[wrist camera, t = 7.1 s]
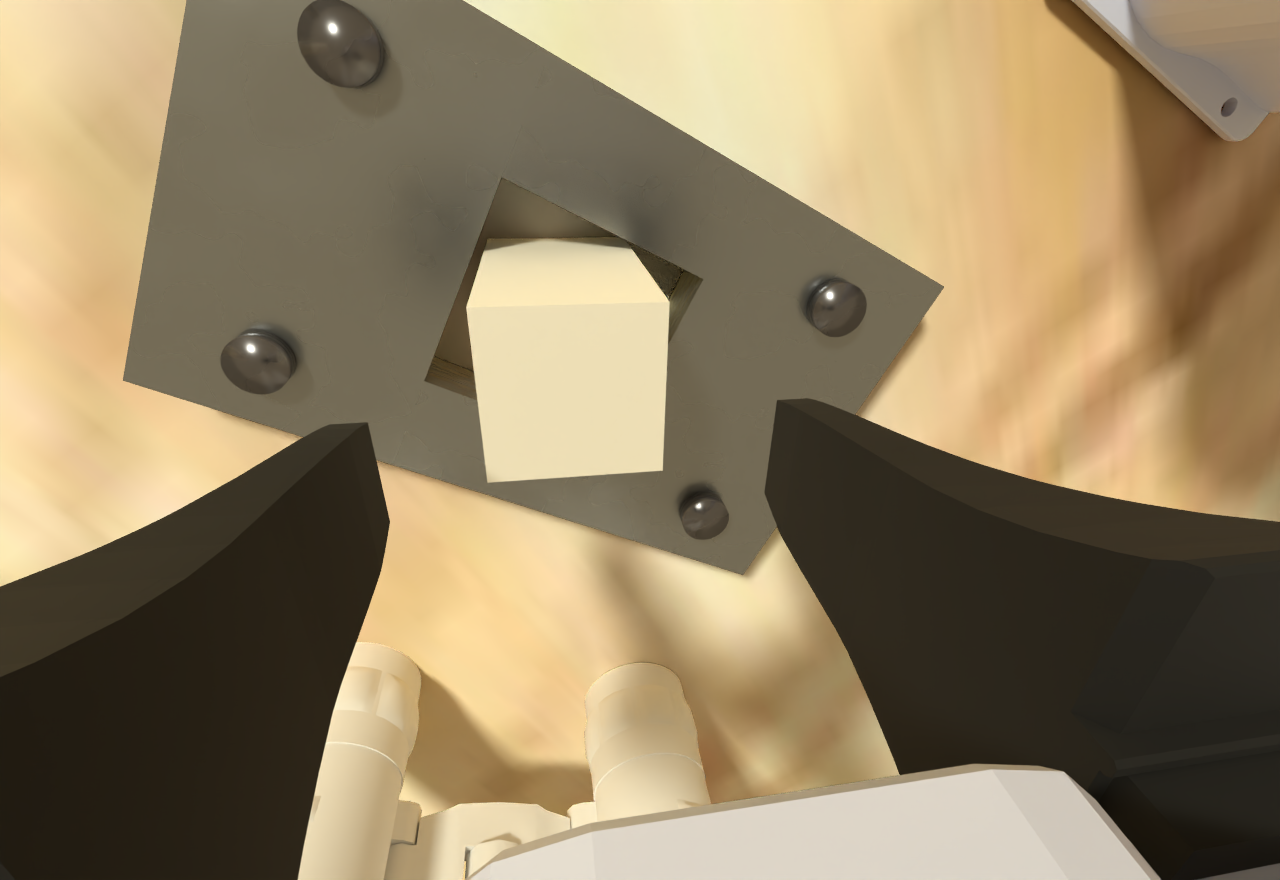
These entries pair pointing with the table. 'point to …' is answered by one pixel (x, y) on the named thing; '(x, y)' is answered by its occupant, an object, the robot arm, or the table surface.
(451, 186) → the strike plate
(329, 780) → the binoculars
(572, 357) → the cream rectangular block
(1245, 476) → the table surface
